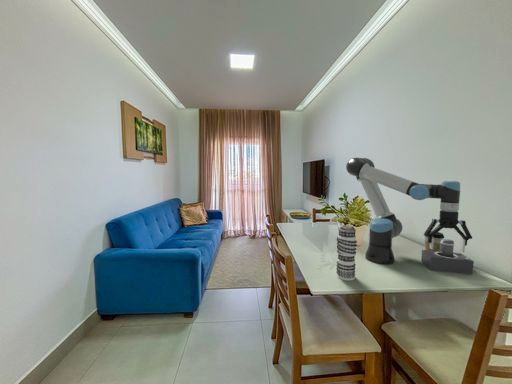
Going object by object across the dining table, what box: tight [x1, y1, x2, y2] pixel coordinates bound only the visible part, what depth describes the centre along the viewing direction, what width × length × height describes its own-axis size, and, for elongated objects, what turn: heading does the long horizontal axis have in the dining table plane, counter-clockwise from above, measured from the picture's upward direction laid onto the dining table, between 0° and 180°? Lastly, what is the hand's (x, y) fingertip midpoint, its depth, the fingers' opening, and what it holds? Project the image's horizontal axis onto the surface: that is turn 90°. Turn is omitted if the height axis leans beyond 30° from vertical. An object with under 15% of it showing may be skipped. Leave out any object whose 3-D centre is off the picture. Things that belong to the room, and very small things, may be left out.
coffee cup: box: [423, 231, 445, 251], centre depth 138 cm, size 10×10×15 cm
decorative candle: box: [335, 224, 358, 282], centre depth 112 cm, size 9×9×25 cm
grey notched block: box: [420, 249, 475, 275], centre depth 123 cm, size 18×12×8 cm, turn 72°
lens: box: [439, 238, 455, 258], centre depth 122 cm, size 6×6×10 cm
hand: (446, 250), depth 122 cm, fingers open, 13 cm apart
